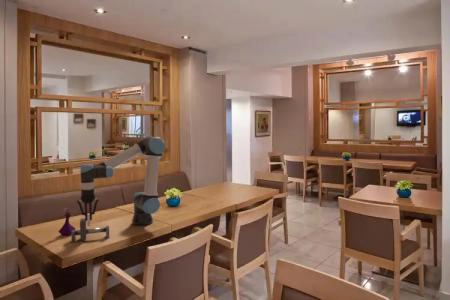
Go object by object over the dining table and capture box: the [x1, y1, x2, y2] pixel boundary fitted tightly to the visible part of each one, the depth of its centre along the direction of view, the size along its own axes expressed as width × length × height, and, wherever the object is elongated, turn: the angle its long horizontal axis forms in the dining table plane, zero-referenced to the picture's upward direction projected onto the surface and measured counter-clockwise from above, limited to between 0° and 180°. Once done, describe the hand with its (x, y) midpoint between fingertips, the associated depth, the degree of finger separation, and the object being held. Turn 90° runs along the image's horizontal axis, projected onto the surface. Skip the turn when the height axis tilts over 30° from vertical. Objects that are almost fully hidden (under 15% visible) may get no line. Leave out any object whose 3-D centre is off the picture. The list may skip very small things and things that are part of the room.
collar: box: [79, 217, 87, 242], centre depth 198 cm, size 3×9×12 cm, turn 22°
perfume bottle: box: [58, 208, 76, 237], centre depth 208 cm, size 8×8×18 cm
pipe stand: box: [71, 225, 110, 243], centre depth 200 cm, size 22×5×7 cm, turn 112°
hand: (88, 225), depth 199 cm, fingers closed
